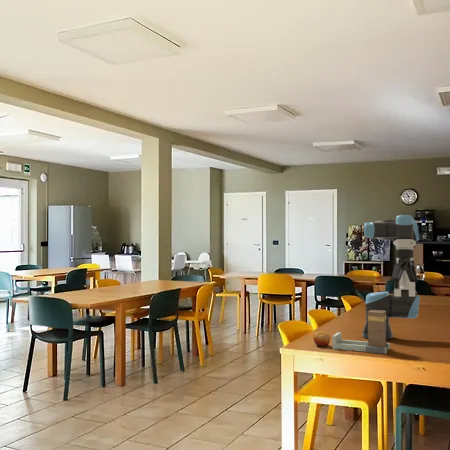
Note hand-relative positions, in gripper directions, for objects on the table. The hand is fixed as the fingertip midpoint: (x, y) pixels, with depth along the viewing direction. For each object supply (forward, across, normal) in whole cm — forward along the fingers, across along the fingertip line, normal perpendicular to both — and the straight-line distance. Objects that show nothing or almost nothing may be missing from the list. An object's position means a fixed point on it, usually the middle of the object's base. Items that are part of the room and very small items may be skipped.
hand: (405, 296), depth 247 cm
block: (+25, 0, +14) cm, 29 cm away
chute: (+25, -2, +21) cm, 33 cm away
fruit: (+25, -9, +38) cm, 47 cm away
